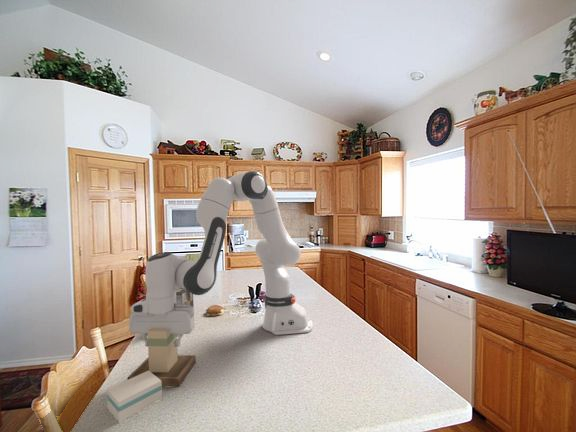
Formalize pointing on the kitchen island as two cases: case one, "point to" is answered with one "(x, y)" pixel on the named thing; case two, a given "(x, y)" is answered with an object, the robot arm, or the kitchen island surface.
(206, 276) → the robot arm
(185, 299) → the coffee box
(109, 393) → the wide carton
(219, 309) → the hamburger
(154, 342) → the slim carton
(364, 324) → the kitchen island surface
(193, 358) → the brown wooden tray
